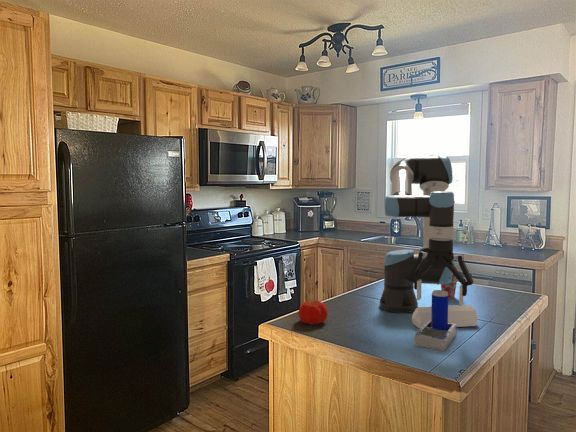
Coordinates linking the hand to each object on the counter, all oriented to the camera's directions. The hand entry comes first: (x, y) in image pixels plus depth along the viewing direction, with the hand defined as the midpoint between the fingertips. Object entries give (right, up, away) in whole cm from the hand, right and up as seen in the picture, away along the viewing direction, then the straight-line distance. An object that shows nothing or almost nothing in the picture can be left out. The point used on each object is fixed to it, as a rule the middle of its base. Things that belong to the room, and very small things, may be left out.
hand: (439, 302), depth 147 cm
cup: (+21, -7, +49) cm, 54 cm away
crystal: (+6, -11, +11) cm, 17 cm away
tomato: (-41, -11, +16) cm, 45 cm away
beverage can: (0, -12, 0) cm, 12 cm away
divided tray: (-2, -12, -3) cm, 12 cm away
